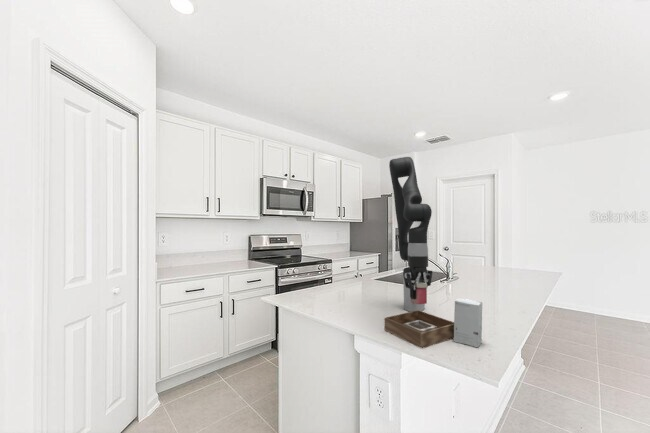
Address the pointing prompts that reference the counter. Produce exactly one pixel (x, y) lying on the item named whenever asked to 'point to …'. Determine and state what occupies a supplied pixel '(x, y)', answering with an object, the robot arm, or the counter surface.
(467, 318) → the skincare box
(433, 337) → the crate
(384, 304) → the counter surface
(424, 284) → the small box
